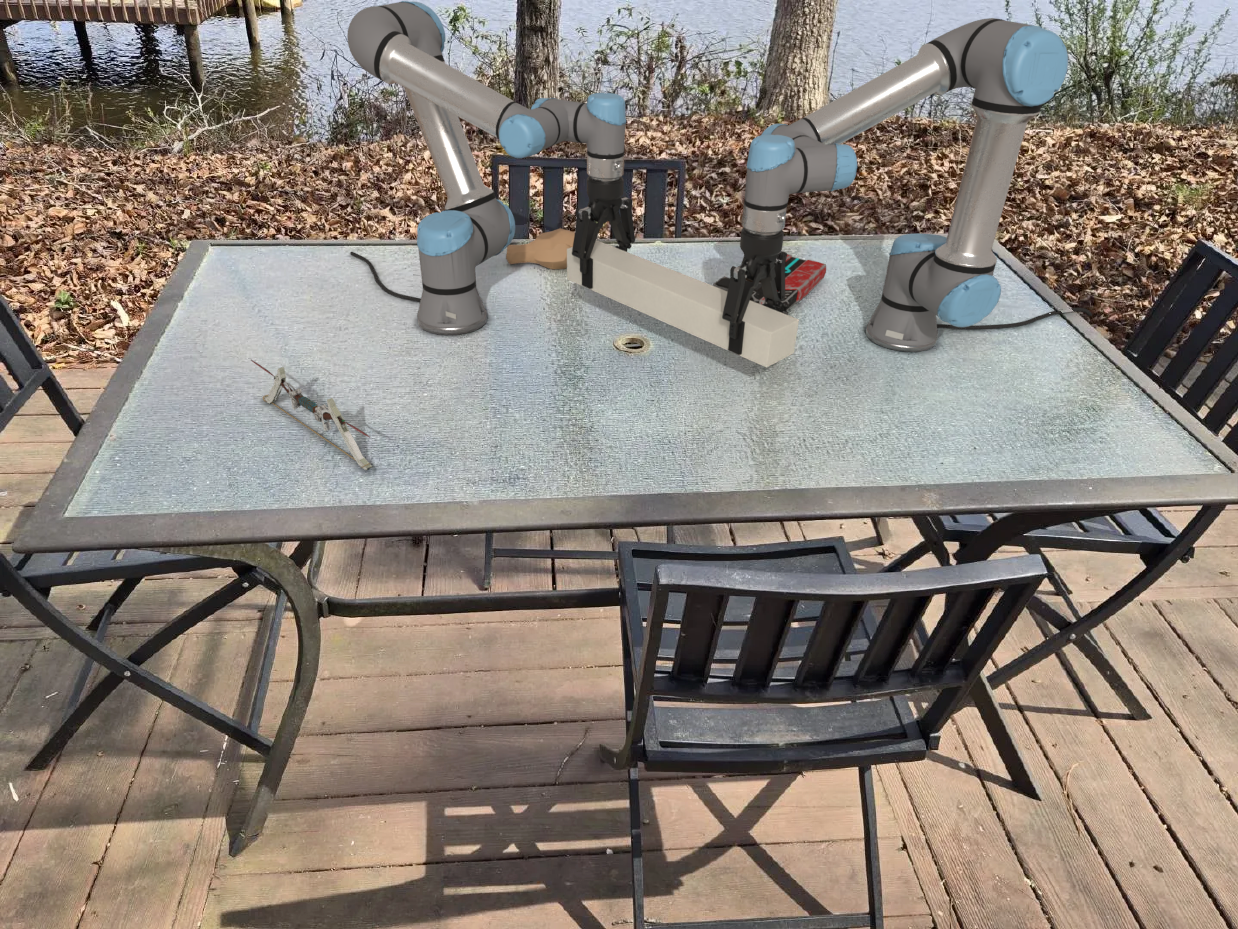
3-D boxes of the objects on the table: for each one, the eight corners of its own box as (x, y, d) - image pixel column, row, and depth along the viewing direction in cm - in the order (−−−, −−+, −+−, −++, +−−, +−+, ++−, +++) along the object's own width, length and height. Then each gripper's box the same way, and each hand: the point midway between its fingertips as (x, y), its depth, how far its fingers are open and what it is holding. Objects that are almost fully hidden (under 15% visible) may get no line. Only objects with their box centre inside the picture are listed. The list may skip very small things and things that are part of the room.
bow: (382, 473, 146) (374, 421, 141) (372, 477, 145) (364, 425, 140) (264, 393, 168) (253, 345, 162) (255, 396, 167) (243, 348, 161)
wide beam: (566, 279, 193) (566, 248, 189) (595, 269, 198) (595, 239, 194) (766, 367, 161) (771, 332, 157) (794, 353, 166) (799, 319, 162)
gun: (708, 284, 207) (784, 305, 199) (760, 245, 229) (831, 262, 221) (706, 302, 209) (781, 323, 201) (758, 261, 231) (828, 278, 223)
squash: (584, 273, 223) (579, 241, 217) (507, 280, 225) (500, 249, 219) (585, 251, 231) (581, 220, 225) (511, 258, 233) (504, 227, 227)
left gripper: (577, 190, 170) (577, 299, 182) (655, 171, 182) (650, 274, 195) (552, 181, 174) (554, 288, 187) (631, 163, 186) (627, 264, 199)
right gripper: (741, 248, 146) (730, 369, 159) (815, 220, 159) (799, 334, 172) (707, 237, 151) (698, 355, 163) (781, 210, 163) (768, 322, 176)
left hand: (603, 281), depth 191 cm, fingers closed on wide beam, 9 cm apart
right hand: (750, 344), depth 167 cm, fingers closed on wide beam, 9 cm apart
